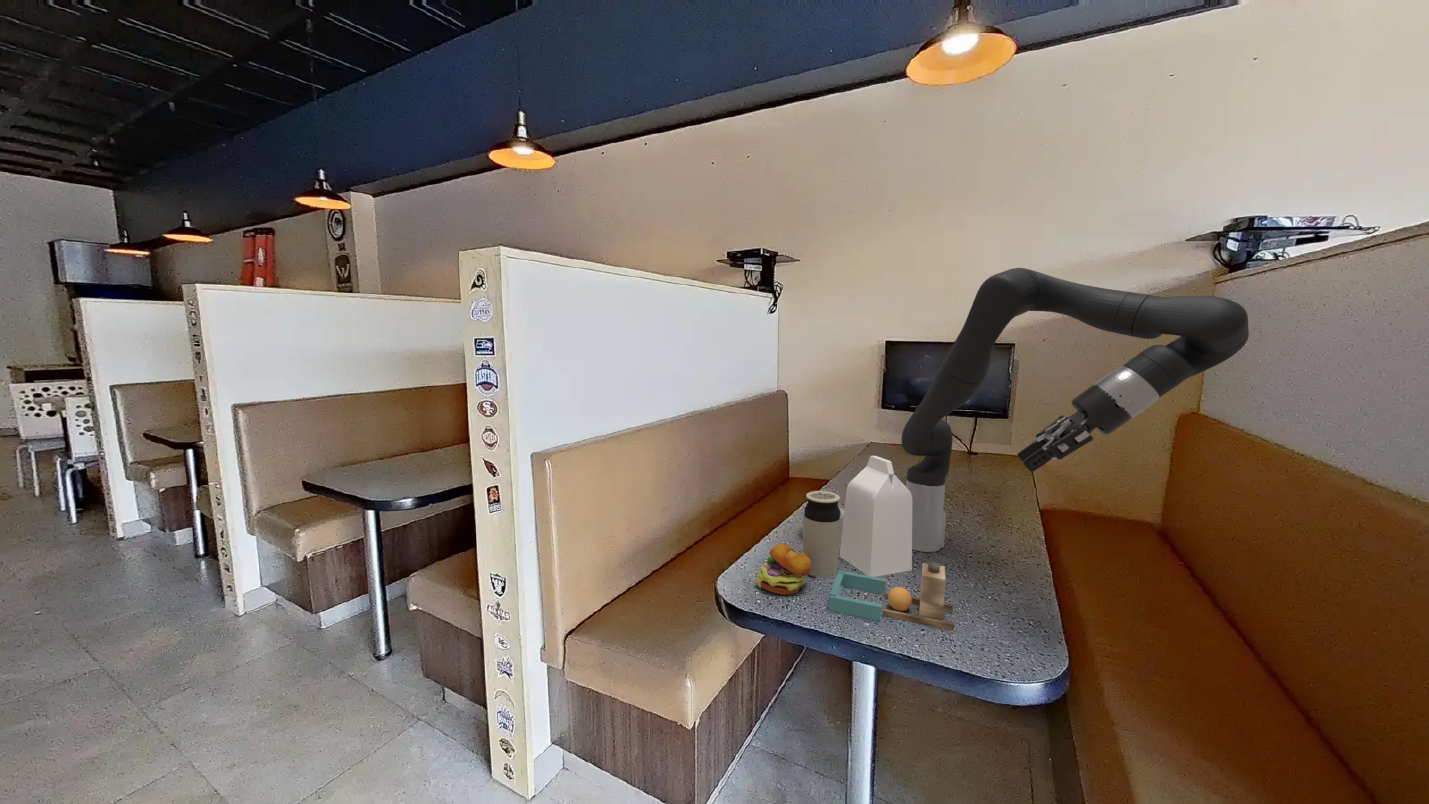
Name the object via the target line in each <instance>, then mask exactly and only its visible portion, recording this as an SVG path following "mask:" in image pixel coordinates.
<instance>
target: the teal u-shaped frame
mask: <svg viewBox="0 0 1429 804" xmlns="http://www.w3.org/2000/svg"><path fill="white" fill-rule="evenodd" d="M886 585H887V578H883V577H878V576H877V577H872V576H867V575H865V574H859V573H855V572H849V571H845V570H838V571H837V576H836V578H835V580H834V583H833V586H832V588H831V590H830V593H829V596H828V608H827V609H828V611H829V612H833V613H838V614H843V615H848V616H852V617H856V618H862V619H866V620H871V621H875V622H881V619H882V606H883V605H882V603H876V602H873V601H868V600H861V599H857V598H852V597H847V596H842V591H843V588H848V589H849V588H850V589H855V590H860V591H864V592H870V593H875V594H881V595H886V587H887V586H886Z"/></svg>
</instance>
